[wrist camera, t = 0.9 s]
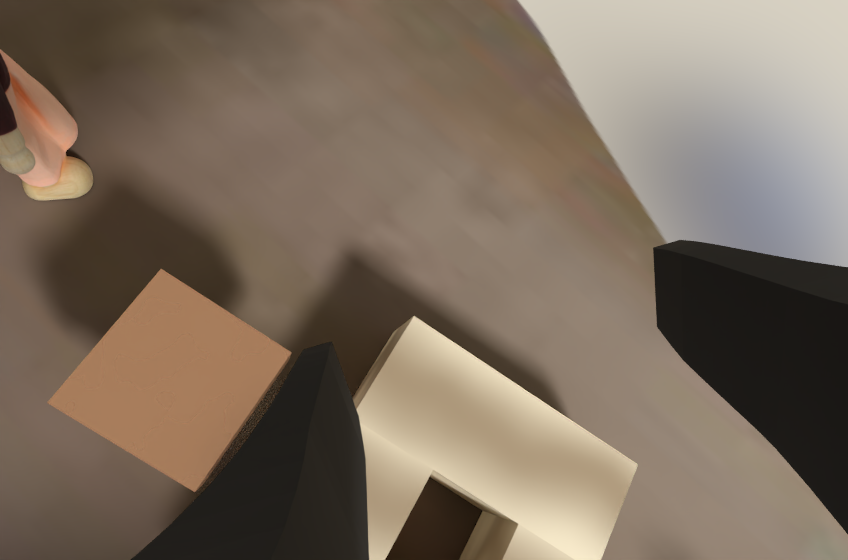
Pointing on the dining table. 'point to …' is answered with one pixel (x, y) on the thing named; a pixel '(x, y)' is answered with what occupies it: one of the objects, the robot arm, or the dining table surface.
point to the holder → (482, 454)
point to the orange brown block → (173, 380)
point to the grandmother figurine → (38, 137)
